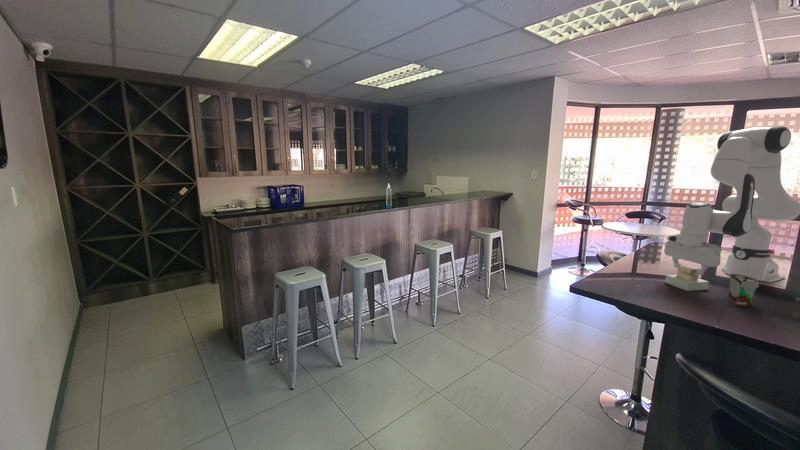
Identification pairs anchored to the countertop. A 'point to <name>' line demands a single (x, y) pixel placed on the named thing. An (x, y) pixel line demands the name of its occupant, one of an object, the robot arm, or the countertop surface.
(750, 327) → the countertop surface
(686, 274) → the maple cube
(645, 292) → the countertop surface
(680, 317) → the countertop surface
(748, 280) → the food container
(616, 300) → the countertop surface
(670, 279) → the sage block
